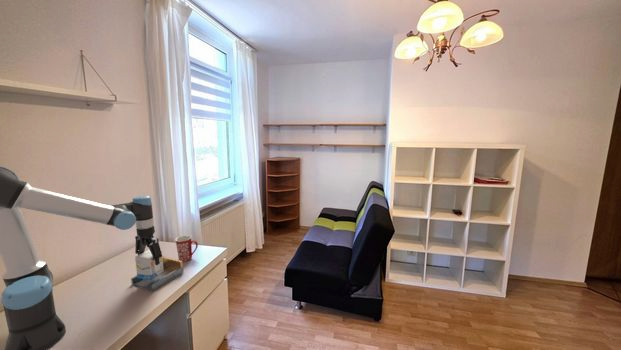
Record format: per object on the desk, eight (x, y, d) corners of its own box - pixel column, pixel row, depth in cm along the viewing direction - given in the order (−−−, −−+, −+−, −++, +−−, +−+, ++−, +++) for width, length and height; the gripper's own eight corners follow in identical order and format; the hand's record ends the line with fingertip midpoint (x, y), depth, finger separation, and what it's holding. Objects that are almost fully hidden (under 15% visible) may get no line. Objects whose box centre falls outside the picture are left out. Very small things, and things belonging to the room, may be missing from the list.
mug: (173, 262, 151) (171, 241, 148) (181, 255, 159) (180, 235, 157) (194, 262, 150) (193, 241, 148) (201, 255, 159) (200, 235, 157)
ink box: (151, 280, 124) (148, 258, 122) (136, 278, 126) (134, 256, 124) (164, 271, 133) (162, 250, 131) (150, 269, 134) (148, 249, 133)
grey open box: (152, 291, 123) (151, 278, 121) (131, 284, 128) (130, 272, 127) (183, 272, 139) (182, 261, 138) (163, 267, 145) (162, 256, 143)
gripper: (167, 226, 125) (172, 268, 128) (138, 221, 133) (142, 261, 136) (153, 232, 118) (158, 276, 121) (123, 226, 126) (128, 268, 129)
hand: (150, 268), depth 129 cm, fingers closed on ink box, 9 cm apart
